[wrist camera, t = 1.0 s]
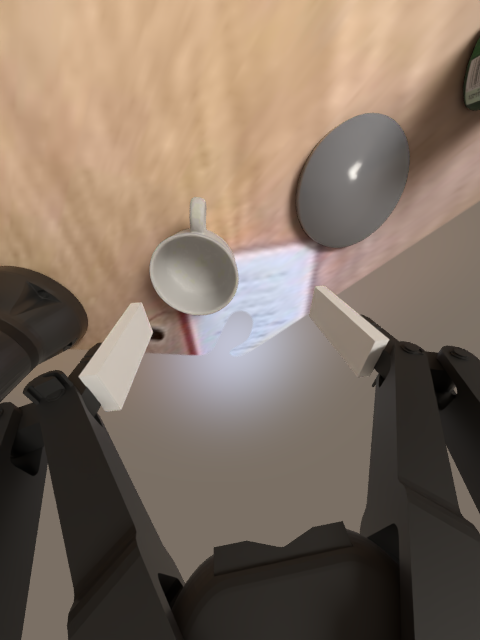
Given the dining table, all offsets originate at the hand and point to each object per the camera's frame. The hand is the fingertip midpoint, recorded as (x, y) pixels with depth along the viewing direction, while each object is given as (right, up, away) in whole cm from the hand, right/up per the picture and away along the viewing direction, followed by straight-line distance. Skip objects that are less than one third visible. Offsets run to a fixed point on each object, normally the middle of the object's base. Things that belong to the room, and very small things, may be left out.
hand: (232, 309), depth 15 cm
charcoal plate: (+16, +17, +12) cm, 26 cm away
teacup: (-5, +10, +15) cm, 18 cm away
